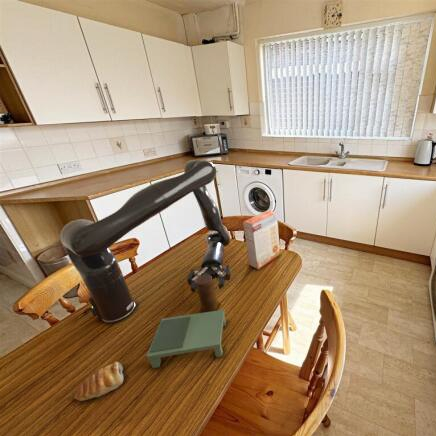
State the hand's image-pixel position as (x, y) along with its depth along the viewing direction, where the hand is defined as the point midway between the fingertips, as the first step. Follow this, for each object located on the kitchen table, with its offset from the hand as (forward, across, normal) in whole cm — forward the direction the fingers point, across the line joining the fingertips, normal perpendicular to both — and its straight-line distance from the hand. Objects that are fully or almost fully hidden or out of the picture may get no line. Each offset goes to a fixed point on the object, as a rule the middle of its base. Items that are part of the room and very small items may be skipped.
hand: (206, 288), depth 78 cm
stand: (+14, -3, +7) cm, 16 cm away
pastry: (+22, -22, +7) cm, 32 cm away
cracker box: (-23, +20, +7) cm, 31 cm away
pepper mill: (+1, 0, +7) cm, 7 cm away
